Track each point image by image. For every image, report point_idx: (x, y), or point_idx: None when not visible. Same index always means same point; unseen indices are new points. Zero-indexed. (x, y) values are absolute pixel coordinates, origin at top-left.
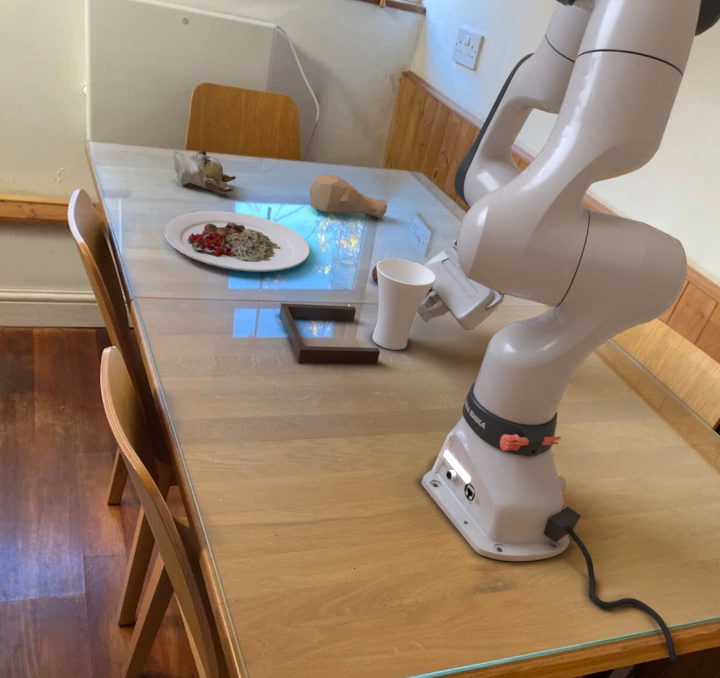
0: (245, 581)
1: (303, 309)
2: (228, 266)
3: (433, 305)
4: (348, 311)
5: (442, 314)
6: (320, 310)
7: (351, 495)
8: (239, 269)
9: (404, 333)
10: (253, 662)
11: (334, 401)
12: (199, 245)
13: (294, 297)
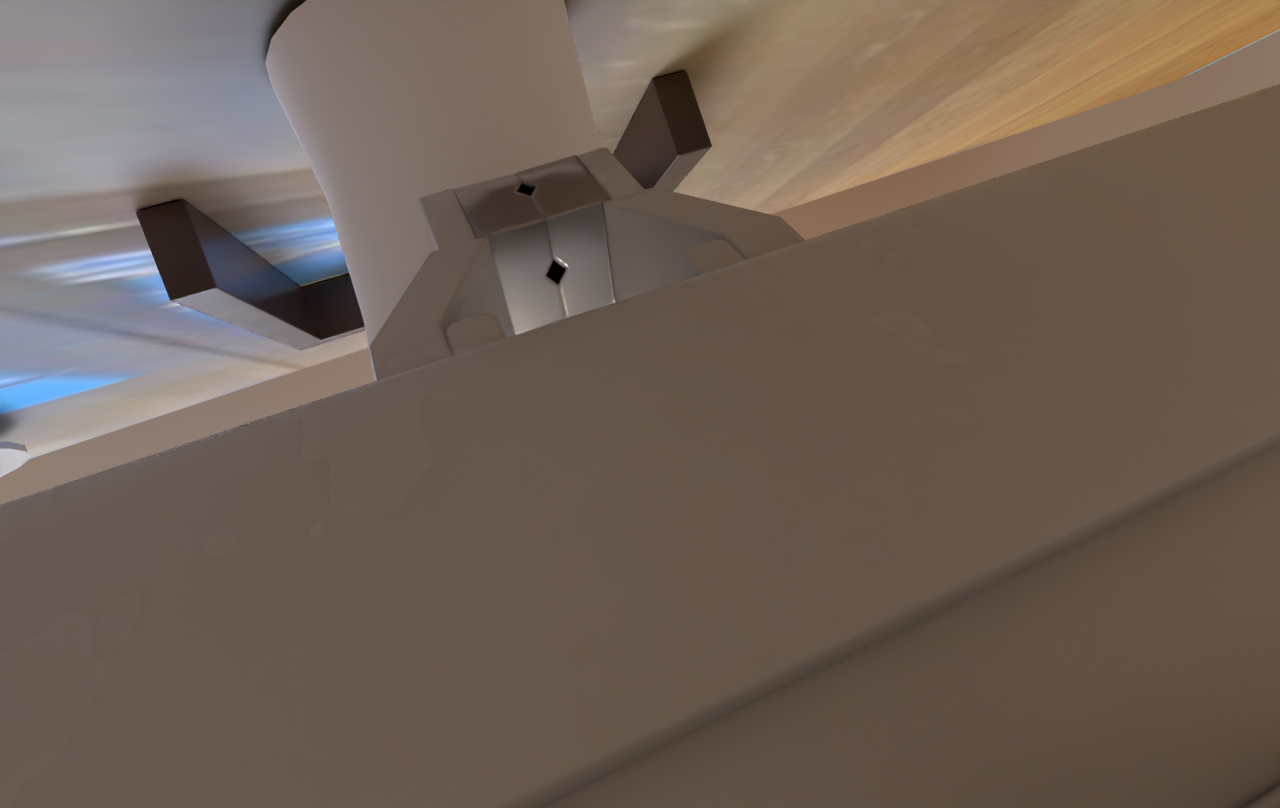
0: (1058, 114)
1: (303, 322)
2: (14, 450)
3: (457, 299)
4: (229, 282)
5: (766, 223)
6: (281, 309)
7: (1103, 56)
8: (1, 444)
9: (595, 129)
10: (1139, 91)
11: (826, 120)
12: None
13: (30, 341)
